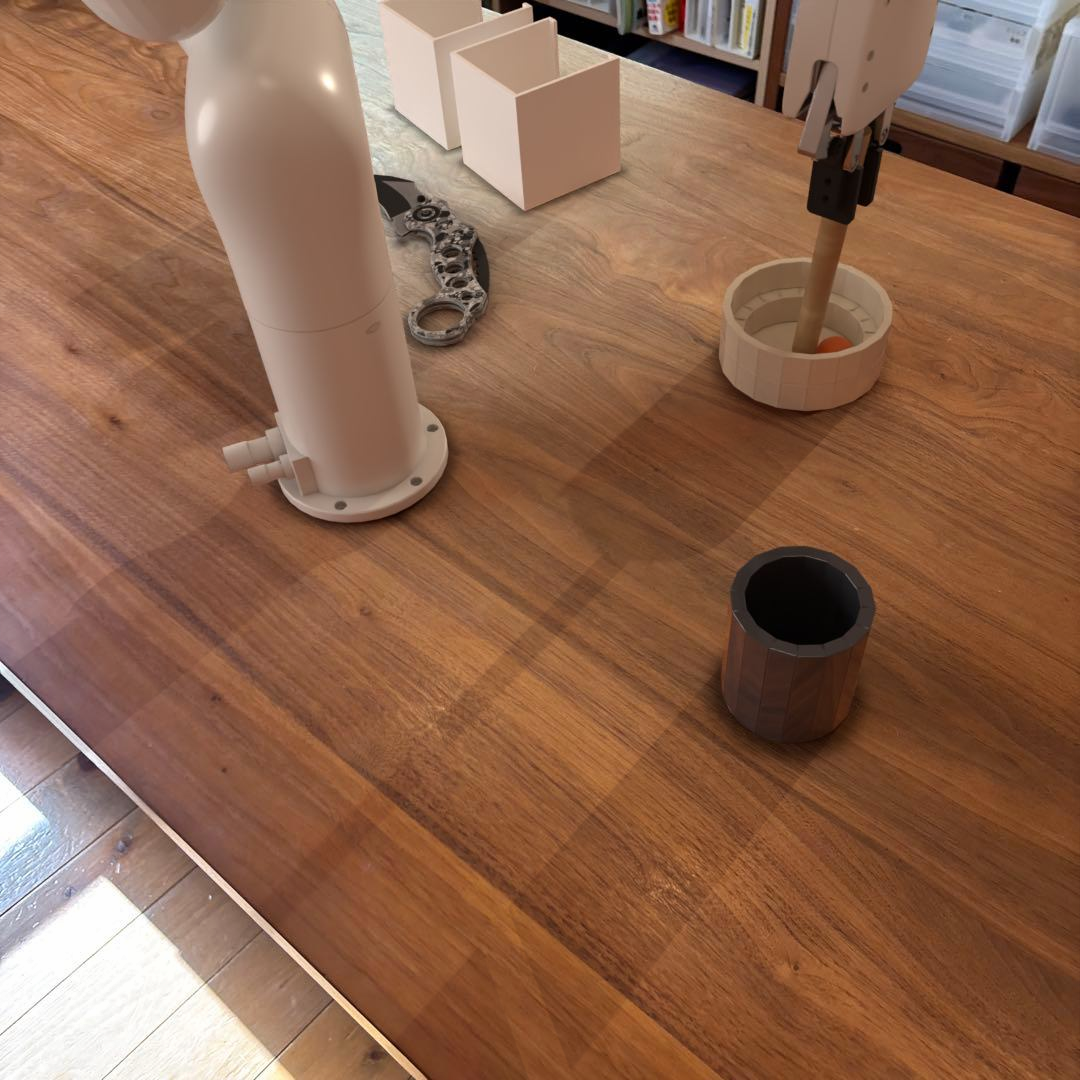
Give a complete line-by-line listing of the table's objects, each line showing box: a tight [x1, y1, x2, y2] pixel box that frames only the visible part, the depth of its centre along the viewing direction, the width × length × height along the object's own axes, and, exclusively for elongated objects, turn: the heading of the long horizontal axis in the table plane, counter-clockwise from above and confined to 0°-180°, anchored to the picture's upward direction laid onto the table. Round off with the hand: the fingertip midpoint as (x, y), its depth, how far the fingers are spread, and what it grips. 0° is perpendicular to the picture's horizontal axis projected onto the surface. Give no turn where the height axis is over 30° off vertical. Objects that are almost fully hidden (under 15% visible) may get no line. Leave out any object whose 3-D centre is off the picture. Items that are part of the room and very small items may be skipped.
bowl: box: [718, 256, 894, 412], centre depth 84 cm, size 12×12×6 cm
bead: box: [815, 336, 853, 354], centre depth 83 cm, size 3×3×3 cm
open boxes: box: [377, 0, 622, 212], centre depth 107 cm, size 25×11×11 cm, turn 34°
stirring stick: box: [792, 125, 872, 354], centre depth 76 cm, size 2×2×18 cm
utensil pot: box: [720, 545, 877, 744], centre depth 63 cm, size 8×8×9 cm
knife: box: [373, 173, 491, 347], centre depth 99 cm, size 28×2×10 cm
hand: (839, 206), depth 73 cm, fingers closed on stirring stick, 1 cm apart
